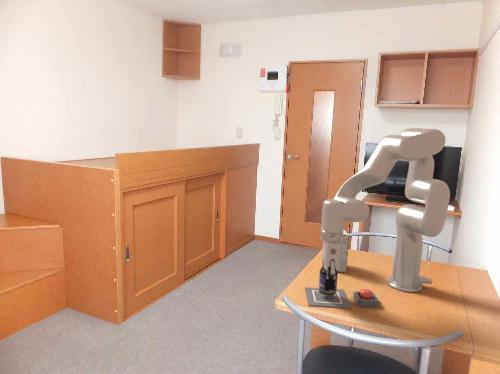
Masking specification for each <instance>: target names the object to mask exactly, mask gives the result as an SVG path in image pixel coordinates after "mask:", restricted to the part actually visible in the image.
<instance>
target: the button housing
mask: <svg viewBox="0 0 500 374" xmlns="http://www.w3.org/2000/svg"><path fill="white" fill-rule="evenodd" d="M352 298H353V300H354V302H355V304H356V307H360V308H361V307H362V308H379V307H380V306H379V305H380V304H379V298H377V296H376V294H375V292H372V299H363V298H361V297H360V291H358V290H356V291H353V295H352Z"/></svg>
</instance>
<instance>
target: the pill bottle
mask: <svg viewBox="0 0 500 374" xmlns="http://www.w3.org/2000/svg"><path fill="white" fill-rule="evenodd" d="M328 270H330V268H328ZM329 273H330V272H329V271H328V275H329ZM338 274H339V272H338V271H336V269H335V287H334V290H325V278H326V270H325V268H324V263H322V266H321V267H320V268H319V276H318V277H319V279H318V288H319V289H318V290H319V292H320V293H322V294H324V295H334V294H335V293H336V289H338Z"/></svg>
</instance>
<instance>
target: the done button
mask: <svg viewBox="0 0 500 374" xmlns="http://www.w3.org/2000/svg"><path fill="white" fill-rule="evenodd" d="M372 293H373V291H372V290H370V289H368V288H361V289H360V297H361V298H363V299H372Z"/></svg>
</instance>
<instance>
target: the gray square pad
mask: <svg viewBox="0 0 500 374" xmlns="http://www.w3.org/2000/svg"><path fill="white" fill-rule="evenodd" d="M318 289H319V287H307V286H305V287H304V290H305V295H306V300H307V305H308V307H317V308H321V307H322V308H336V309H348V310H349V309H352V307H351V304H350V302H349V300H348V297H347V294H346V293H345V290H344V289H341V288H340V289H338V288H336V293H335V294H334V295H324V294H322V293H320V292H319V290H318Z"/></svg>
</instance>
